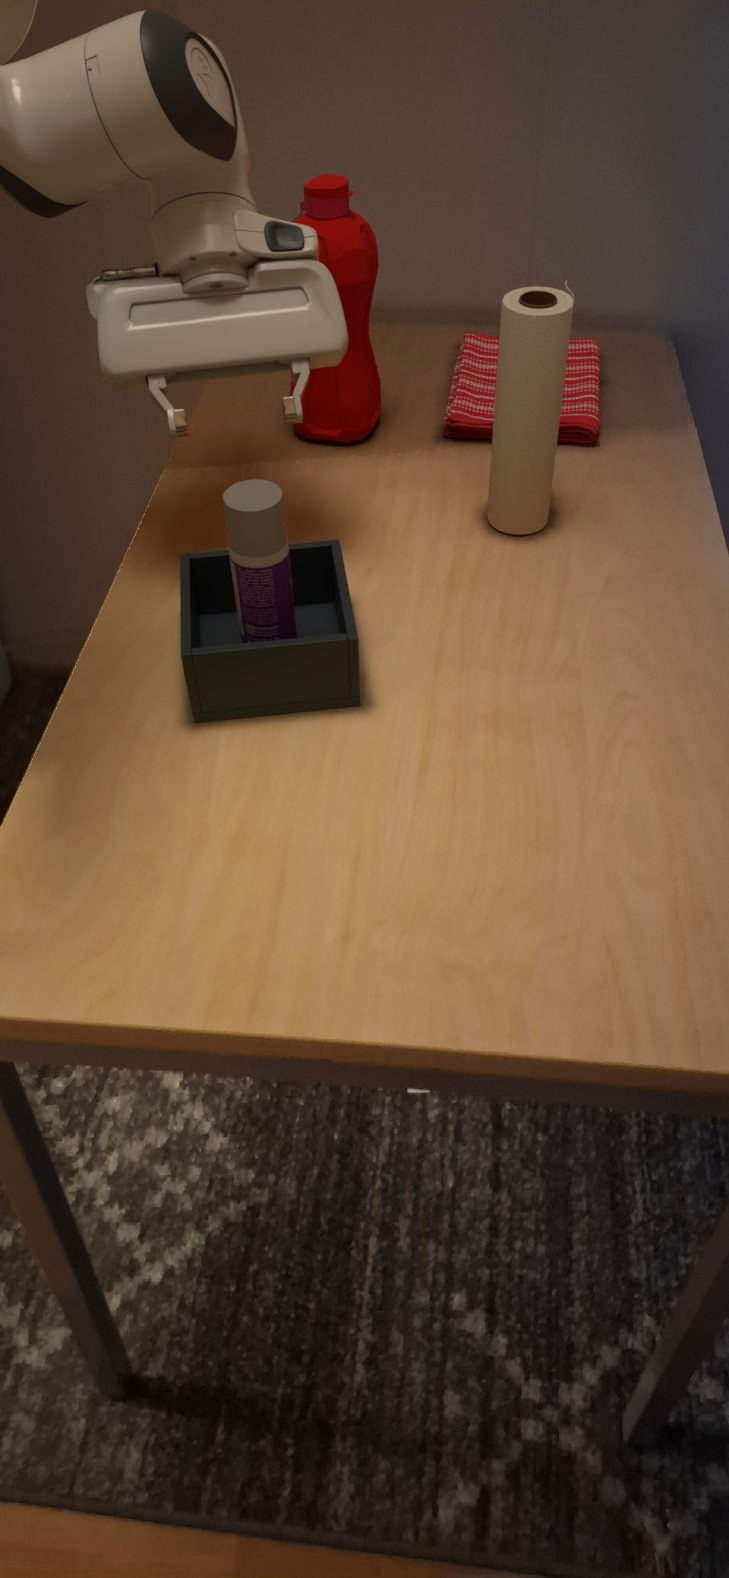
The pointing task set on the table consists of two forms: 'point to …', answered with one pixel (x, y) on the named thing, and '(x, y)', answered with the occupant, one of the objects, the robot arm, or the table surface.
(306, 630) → the tub
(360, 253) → the water bottle
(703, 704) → the table surface
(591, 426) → the dish towel
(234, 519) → the container
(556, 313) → the paper towel roll
